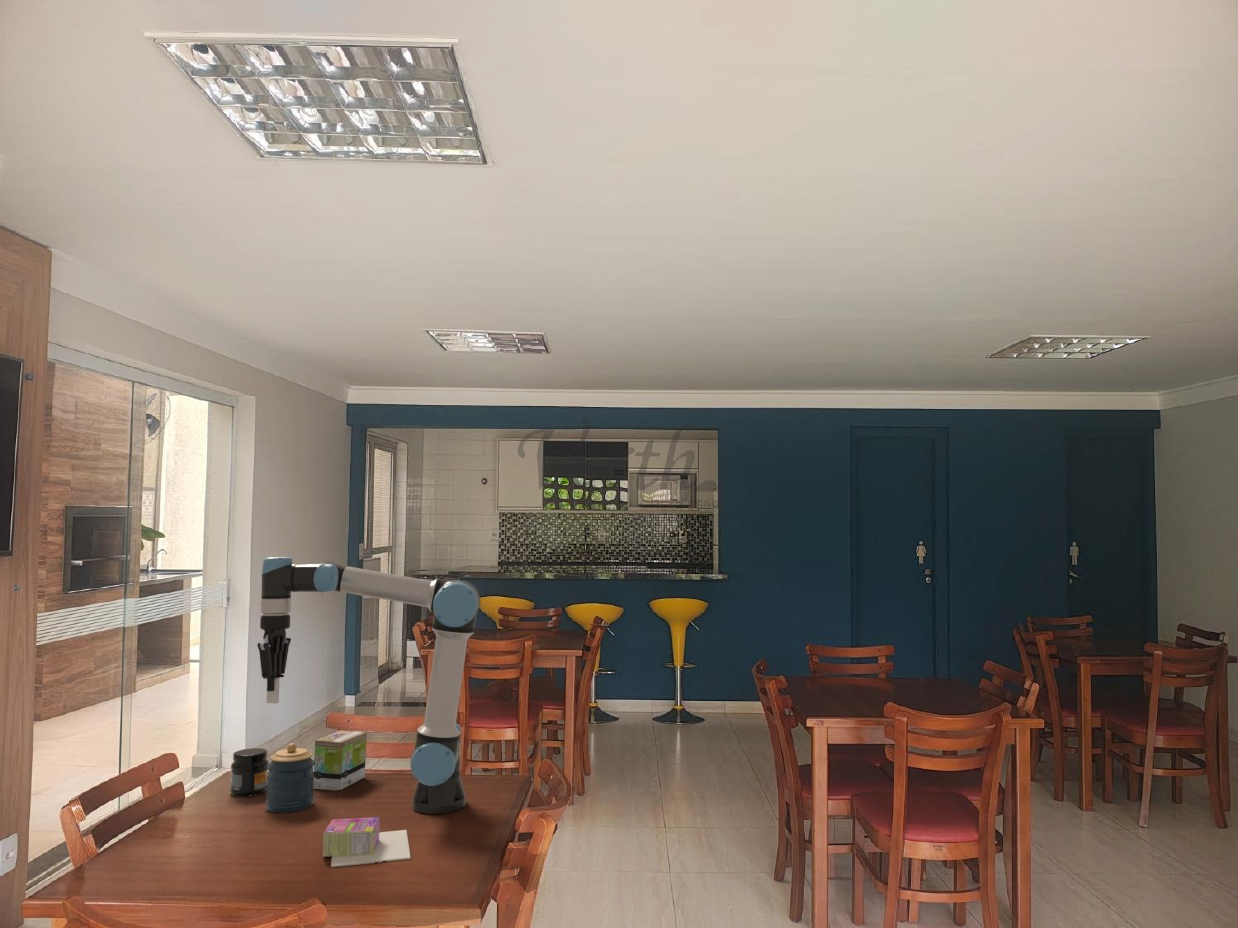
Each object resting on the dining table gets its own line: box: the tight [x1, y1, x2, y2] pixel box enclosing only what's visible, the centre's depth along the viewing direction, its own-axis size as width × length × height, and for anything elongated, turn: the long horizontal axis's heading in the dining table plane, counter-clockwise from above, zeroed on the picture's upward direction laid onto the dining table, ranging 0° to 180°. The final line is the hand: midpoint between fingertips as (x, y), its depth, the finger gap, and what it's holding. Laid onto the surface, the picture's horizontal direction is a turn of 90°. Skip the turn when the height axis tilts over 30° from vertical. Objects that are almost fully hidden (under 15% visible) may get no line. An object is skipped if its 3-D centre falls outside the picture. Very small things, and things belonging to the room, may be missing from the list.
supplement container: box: [229, 747, 270, 797], centre depth 257 cm, size 10×10×12 cm
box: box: [322, 816, 381, 858], centre depth 209 cm, size 10×6×12 cm
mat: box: [330, 829, 411, 868], centre depth 210 cm, size 18×20×1 cm
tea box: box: [313, 730, 368, 791], centre depth 266 cm, size 15×10×15 cm
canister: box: [265, 742, 315, 814], centre depth 244 cm, size 13×13×18 cm
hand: (272, 702), depth 228 cm, fingers closed
